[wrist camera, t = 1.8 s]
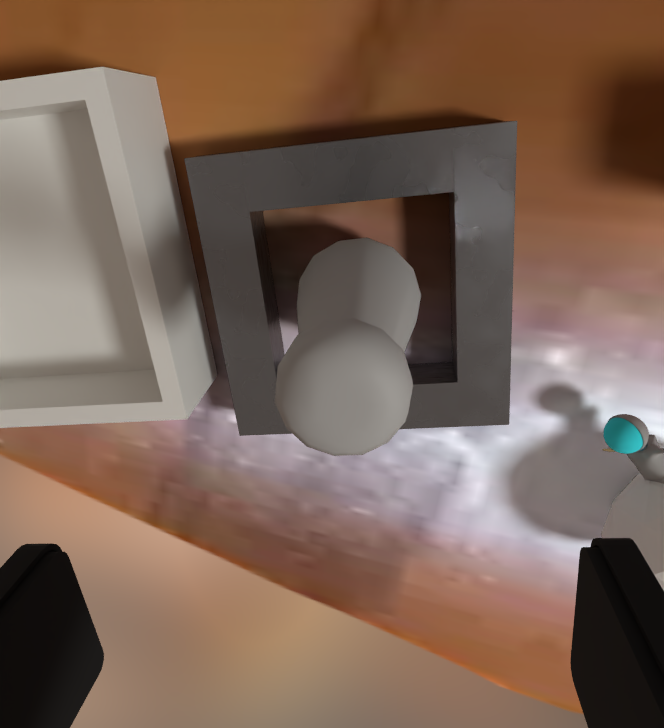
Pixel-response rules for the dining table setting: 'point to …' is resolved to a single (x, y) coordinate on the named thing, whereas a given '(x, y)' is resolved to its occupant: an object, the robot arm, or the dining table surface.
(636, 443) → the perfume bottle
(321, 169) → the collar block
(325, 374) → the salt shaker
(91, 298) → the bin
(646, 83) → the dining table surface
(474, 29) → the dining table surface
